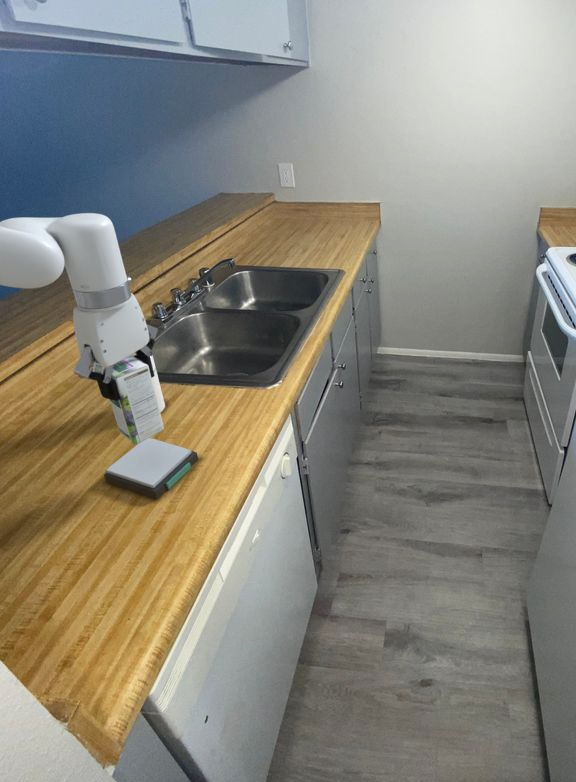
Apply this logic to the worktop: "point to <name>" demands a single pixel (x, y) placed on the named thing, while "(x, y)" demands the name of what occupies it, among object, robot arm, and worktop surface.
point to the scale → (151, 467)
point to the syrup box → (135, 400)
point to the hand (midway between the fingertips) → (129, 386)
